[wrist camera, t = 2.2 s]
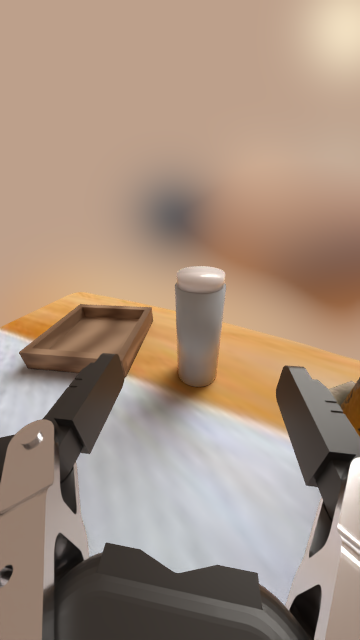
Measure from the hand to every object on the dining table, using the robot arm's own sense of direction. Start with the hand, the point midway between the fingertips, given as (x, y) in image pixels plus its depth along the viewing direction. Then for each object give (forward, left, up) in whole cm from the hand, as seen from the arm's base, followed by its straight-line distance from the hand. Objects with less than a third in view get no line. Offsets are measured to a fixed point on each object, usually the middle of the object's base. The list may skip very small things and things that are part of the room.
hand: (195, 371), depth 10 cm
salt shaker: (0, +11, -12) cm, 16 cm away
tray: (-16, +16, -12) cm, 26 cm away
